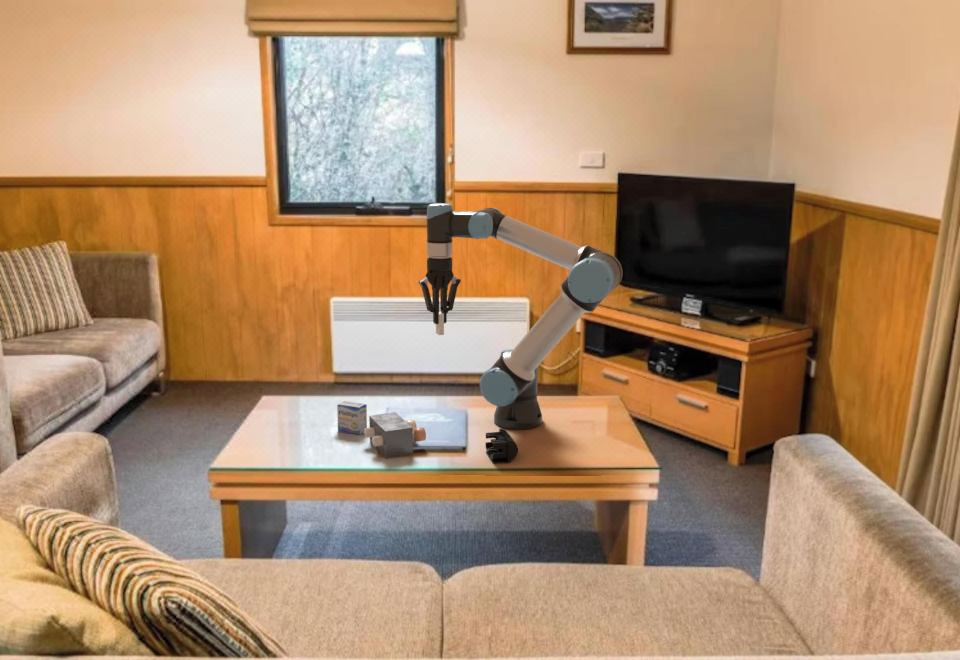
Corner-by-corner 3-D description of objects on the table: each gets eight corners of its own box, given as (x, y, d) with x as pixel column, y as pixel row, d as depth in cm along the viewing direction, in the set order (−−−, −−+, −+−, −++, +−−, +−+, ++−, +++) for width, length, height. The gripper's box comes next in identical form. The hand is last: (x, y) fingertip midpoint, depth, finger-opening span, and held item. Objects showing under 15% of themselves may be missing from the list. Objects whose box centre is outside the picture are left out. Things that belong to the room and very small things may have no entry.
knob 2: (421, 438, 249) (421, 425, 248) (426, 442, 245) (425, 429, 244) (371, 445, 242) (371, 432, 241) (375, 450, 239) (375, 437, 238)
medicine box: (337, 431, 260) (336, 404, 258) (345, 427, 264) (344, 400, 262) (360, 435, 257) (359, 407, 255) (367, 430, 261) (366, 403, 259)
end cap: (518, 462, 236) (518, 439, 235) (493, 464, 235) (493, 441, 233) (509, 450, 246) (509, 427, 244) (485, 451, 244) (485, 429, 243)
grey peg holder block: (395, 437, 255) (395, 412, 253) (412, 454, 242) (412, 427, 240) (369, 441, 251) (369, 415, 249) (386, 458, 239) (385, 431, 237)
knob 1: (412, 430, 255) (411, 417, 254) (416, 434, 252) (416, 421, 251) (363, 437, 249) (363, 424, 248) (367, 441, 246) (367, 428, 245)
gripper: (454, 253, 259) (454, 329, 264) (414, 255, 253) (415, 333, 259) (464, 256, 252) (464, 334, 257) (423, 259, 247) (424, 338, 252)
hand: (439, 333), depth 258 cm, fingers closed
